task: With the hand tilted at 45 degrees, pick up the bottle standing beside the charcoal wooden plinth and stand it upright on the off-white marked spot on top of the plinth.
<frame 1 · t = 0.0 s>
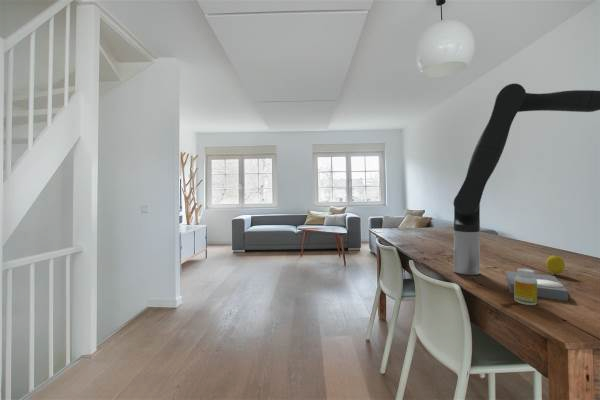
plinth: (533, 288, 98), on the table
lemon: (555, 275, 113), on the table
supplement bottle: (525, 302, 86), on the table
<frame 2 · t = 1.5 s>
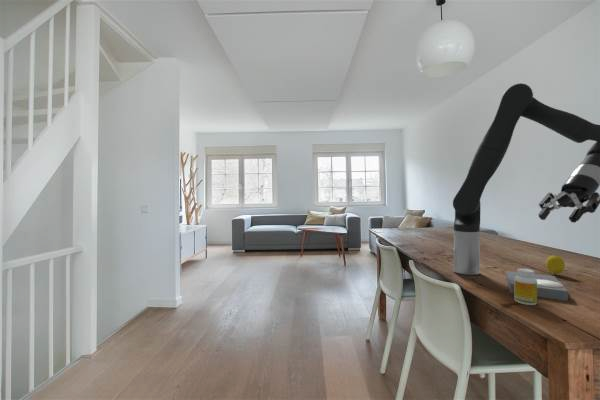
hand: (555, 219, 89), 25 cm above the table, tool tilted 45°, fingers open, 8 cm apart
nothing on the table moved.
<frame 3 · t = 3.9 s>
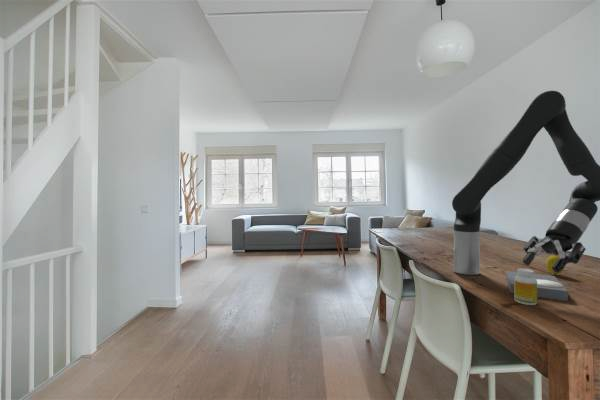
hand: (539, 266, 87), 10 cm above the table, tool tilted 45°, fingers open, 8 cm apart
nothing on the table moved.
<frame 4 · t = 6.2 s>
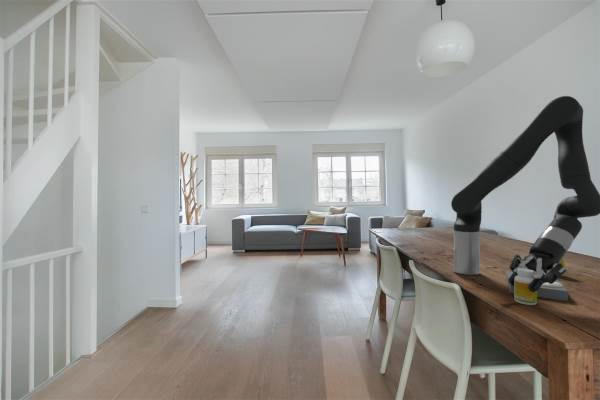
hand: (520, 286, 86), 5 cm above the table, tool tilted 45°, fingers closed on supplement bottle, 5 cm apart
supplement bottle: (525, 302, 86), on the table, touching gripper
everything else where it was.
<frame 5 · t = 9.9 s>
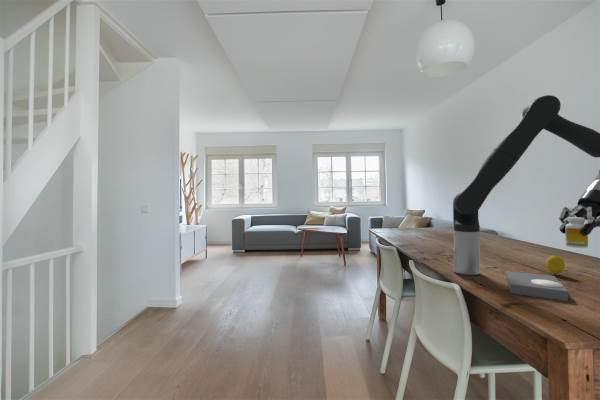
hand: (572, 232, 96), 19 cm above the table, tool tilted 45°, fingers closed on supplement bottle, 5 cm apart
supplement bottle: (576, 247, 96), point 14 cm above the table, touching gripper
everything else where it was.
when the fingers open (9 cm above the table, at t = 13.7 s): supplement bottle drops 1 cm, resting on plinth.
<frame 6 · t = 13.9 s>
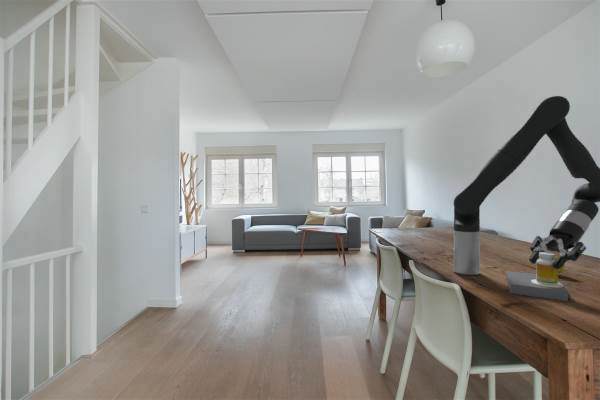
hand: (542, 264, 93), 9 cm above the table, tool tilted 45°, fingers open, 6 cm apart
supplement bottle: (546, 283, 94), point 3 cm above the table, touching plinth
everything else where it was.
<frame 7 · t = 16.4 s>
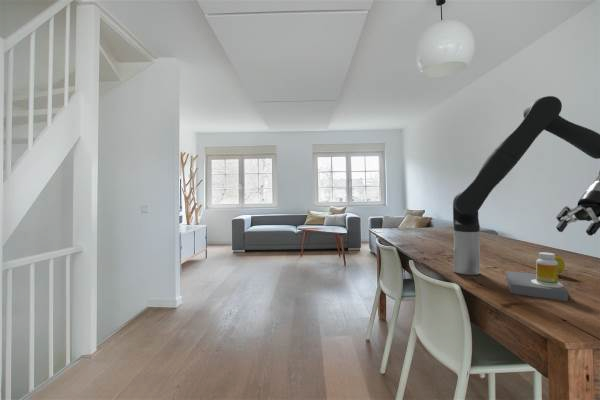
hand: (573, 232, 96), 19 cm above the table, tool tilted 45°, fingers open, 8 cm apart
nothing on the table moved.
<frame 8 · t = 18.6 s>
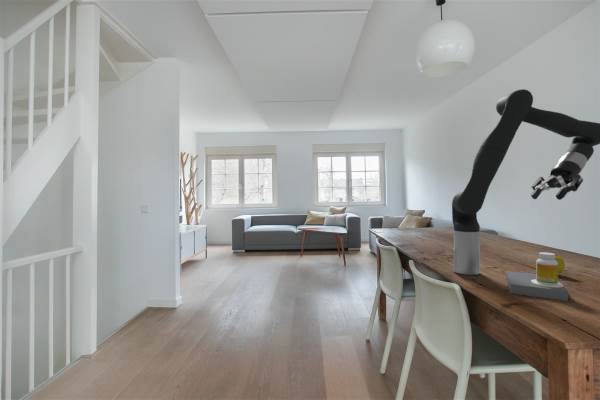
hand: (545, 197, 106), 31 cm above the table, tool tilted 45°, fingers open, 8 cm apart
nothing on the table moved.
at the end: supplement bottle 0.1 cm from the target spot on the plinth, point 3.0 cm above the plinth's base; supplement bottle tilted 0°; the gripper is holding nothing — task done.
